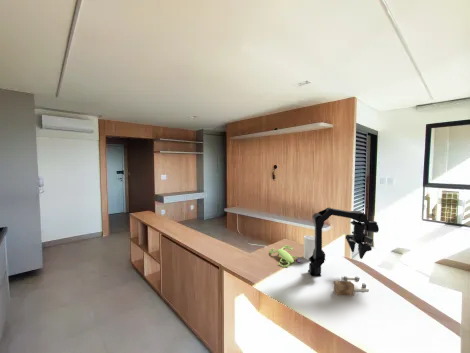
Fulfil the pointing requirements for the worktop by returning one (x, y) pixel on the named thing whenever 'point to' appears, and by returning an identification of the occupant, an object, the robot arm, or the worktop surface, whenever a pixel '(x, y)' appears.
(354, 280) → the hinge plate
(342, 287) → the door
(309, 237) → the cup
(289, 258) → the figurine
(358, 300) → the worktop surface
